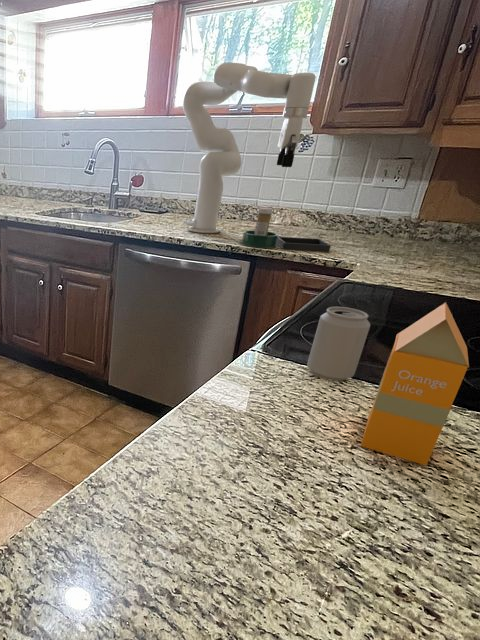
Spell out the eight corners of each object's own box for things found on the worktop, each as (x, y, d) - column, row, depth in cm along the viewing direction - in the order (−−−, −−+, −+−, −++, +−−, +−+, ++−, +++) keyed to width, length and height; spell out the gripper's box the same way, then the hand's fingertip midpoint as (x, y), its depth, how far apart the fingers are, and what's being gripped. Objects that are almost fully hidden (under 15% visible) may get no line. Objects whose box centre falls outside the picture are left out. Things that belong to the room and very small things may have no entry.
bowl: (244, 247, 195) (247, 235, 193) (239, 241, 205) (241, 229, 203) (278, 249, 192) (281, 236, 190) (271, 243, 203) (273, 231, 201)
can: (336, 365, 99) (354, 304, 94) (362, 382, 92) (384, 318, 87) (297, 365, 99) (314, 304, 94) (320, 383, 92) (340, 318, 87)
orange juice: (359, 445, 74) (406, 311, 65) (366, 420, 80) (409, 295, 72) (428, 466, 69) (488, 325, 61) (429, 438, 76) (484, 306, 67)
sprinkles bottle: (266, 244, 198) (275, 208, 193) (262, 246, 196) (270, 209, 190) (254, 242, 201) (262, 206, 196) (249, 244, 199) (257, 207, 193)
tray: (283, 249, 192) (284, 242, 191) (275, 243, 203) (276, 236, 202) (328, 252, 189) (330, 245, 188) (318, 245, 199) (320, 238, 198)
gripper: (278, 114, 190) (268, 164, 197) (288, 112, 174) (276, 167, 181) (301, 114, 188) (290, 165, 195) (313, 112, 173) (300, 168, 180)
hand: (283, 166), depth 188 cm, fingers open, 9 cm apart
